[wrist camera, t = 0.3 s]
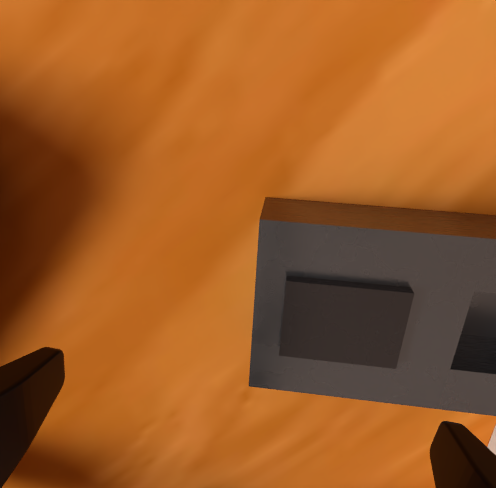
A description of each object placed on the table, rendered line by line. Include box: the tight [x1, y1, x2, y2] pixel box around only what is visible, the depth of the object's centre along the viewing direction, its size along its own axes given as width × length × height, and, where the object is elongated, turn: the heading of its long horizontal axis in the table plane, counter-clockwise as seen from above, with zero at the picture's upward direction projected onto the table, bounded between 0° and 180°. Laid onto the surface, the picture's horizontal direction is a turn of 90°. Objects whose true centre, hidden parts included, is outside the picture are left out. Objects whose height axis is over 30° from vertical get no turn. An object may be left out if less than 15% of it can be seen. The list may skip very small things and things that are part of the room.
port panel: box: [249, 198, 496, 416], centre depth 21 cm, size 10×18×5 cm, turn 87°
